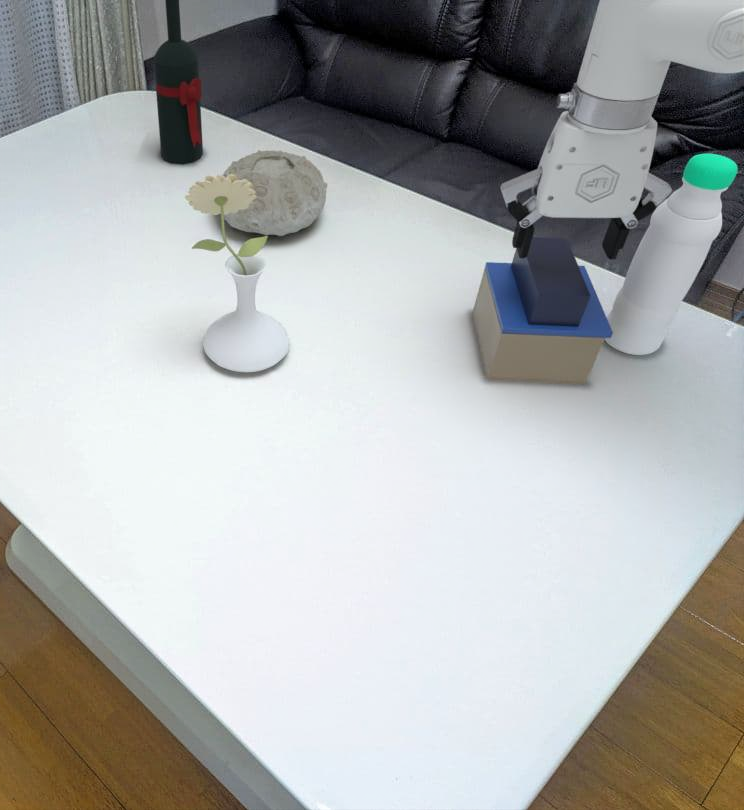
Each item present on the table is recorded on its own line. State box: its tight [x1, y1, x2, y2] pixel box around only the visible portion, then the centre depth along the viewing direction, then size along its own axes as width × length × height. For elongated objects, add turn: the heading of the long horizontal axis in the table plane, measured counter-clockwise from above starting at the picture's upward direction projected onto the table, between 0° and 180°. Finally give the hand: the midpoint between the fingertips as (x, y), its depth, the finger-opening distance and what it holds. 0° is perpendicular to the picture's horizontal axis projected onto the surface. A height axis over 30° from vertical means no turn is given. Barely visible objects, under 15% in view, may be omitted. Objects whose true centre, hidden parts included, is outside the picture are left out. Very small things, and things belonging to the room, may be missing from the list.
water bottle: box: [604, 153, 739, 356], centre depth 87 cm, size 7×7×25 cm
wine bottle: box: [153, 0, 204, 165], centre depth 127 cm, size 8×10×30 cm
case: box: [511, 236, 591, 327], centre depth 88 cm, size 12×6×4 cm, turn 173°
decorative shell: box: [222, 149, 328, 237], centre depth 117 cm, size 18×18×10 cm
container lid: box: [484, 261, 613, 338], centre depth 90 cm, size 12×14×1 cm
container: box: [471, 268, 605, 386], centre depth 93 cm, size 12×14×8 cm
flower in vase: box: [184, 174, 291, 373], centre depth 89 cm, size 13×11×25 cm
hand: (564, 252), depth 85 cm, fingers open, 9 cm apart
